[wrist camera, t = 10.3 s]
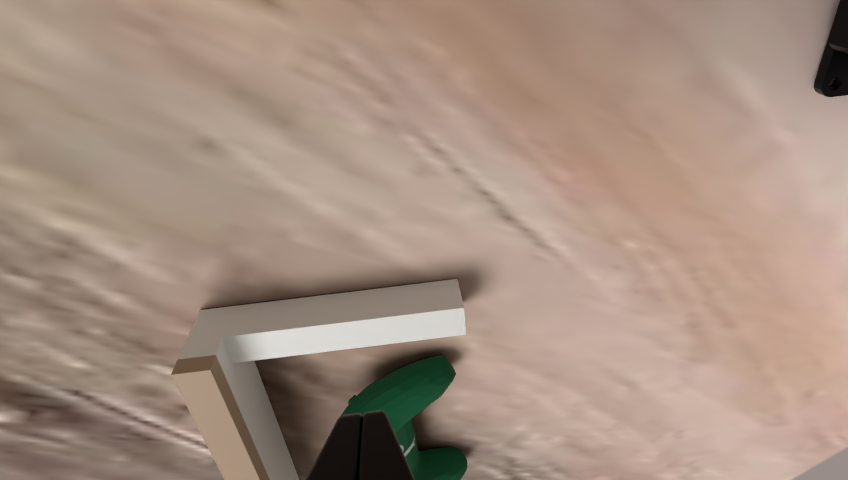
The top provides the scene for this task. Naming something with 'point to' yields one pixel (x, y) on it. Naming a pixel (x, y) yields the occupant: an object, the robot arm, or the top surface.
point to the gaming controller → (414, 414)
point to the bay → (289, 336)
